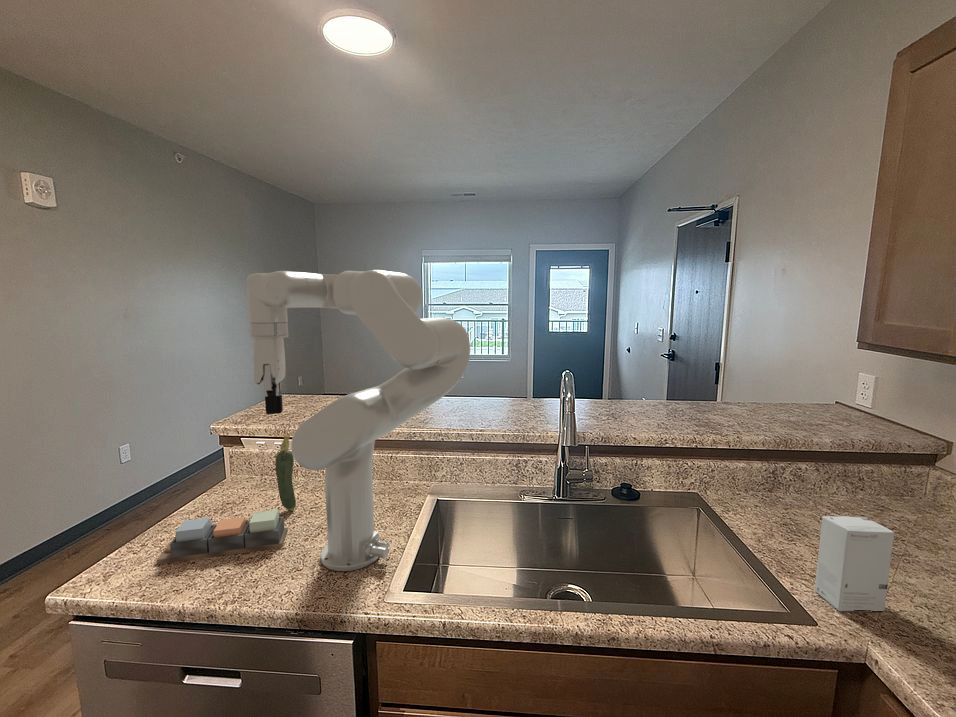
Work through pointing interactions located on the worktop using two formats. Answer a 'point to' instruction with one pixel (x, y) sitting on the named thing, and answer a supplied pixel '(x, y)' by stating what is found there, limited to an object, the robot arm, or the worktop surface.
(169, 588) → the worktop surface
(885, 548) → the skincare box
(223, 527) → the terracotta key
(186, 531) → the slate key
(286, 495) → the vegetable
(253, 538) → the gray compartment tray
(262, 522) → the sage key
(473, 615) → the worktop surface
